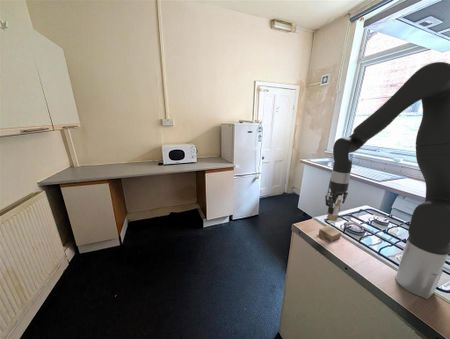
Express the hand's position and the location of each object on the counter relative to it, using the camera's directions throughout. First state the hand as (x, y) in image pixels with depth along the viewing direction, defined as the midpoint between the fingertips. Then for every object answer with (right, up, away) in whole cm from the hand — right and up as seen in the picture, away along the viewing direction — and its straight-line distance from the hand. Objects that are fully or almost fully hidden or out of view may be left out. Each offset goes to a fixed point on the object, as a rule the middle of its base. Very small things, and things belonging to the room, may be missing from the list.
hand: (333, 212), depth 89 cm
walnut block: (0, -13, +4) cm, 13 cm away
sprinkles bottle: (0, -4, +1) cm, 4 cm away
